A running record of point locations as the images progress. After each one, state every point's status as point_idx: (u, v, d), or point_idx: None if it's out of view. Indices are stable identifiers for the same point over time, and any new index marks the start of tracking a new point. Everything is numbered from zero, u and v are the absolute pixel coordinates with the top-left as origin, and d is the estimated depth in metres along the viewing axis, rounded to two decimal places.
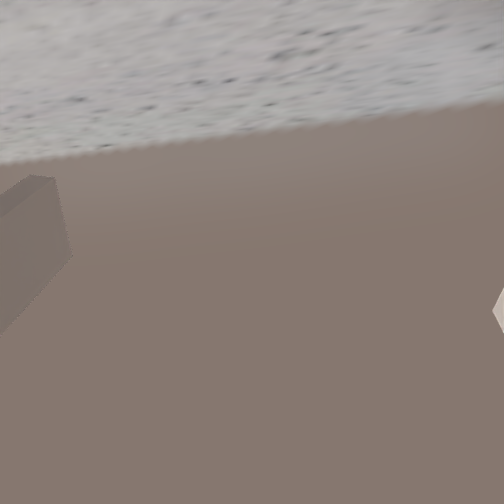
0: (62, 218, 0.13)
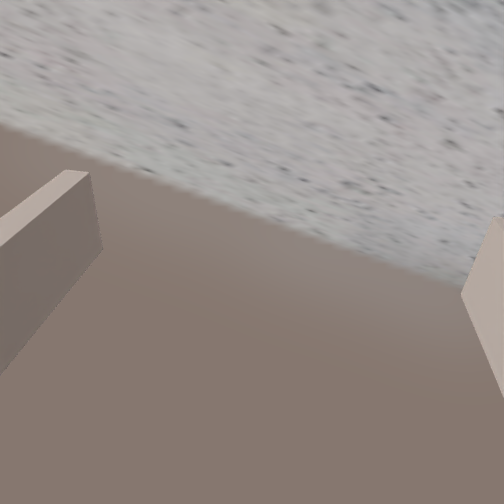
0: (95, 212, 0.13)
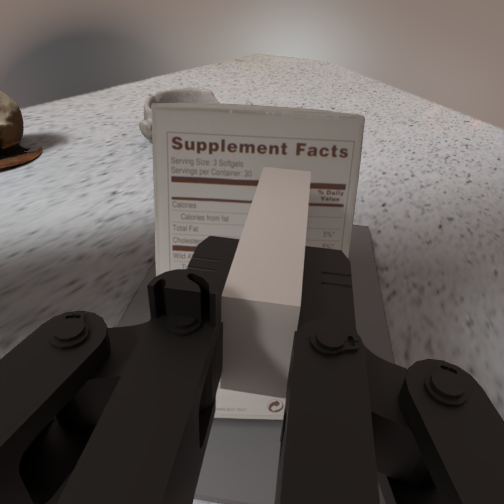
0: None
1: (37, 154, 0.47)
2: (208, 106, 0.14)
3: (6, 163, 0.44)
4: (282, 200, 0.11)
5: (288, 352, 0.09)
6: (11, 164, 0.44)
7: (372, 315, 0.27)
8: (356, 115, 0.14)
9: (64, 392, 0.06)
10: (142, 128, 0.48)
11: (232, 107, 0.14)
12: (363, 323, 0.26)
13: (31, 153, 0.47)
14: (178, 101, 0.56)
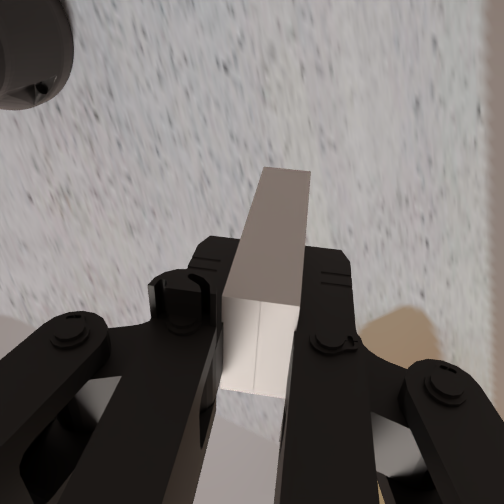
0: None
1: None
2: None
3: None
4: (282, 200, 0.11)
5: (288, 352, 0.09)
6: None
7: None
8: None
9: (65, 392, 0.06)
10: None
11: None
12: None
13: None
14: None
